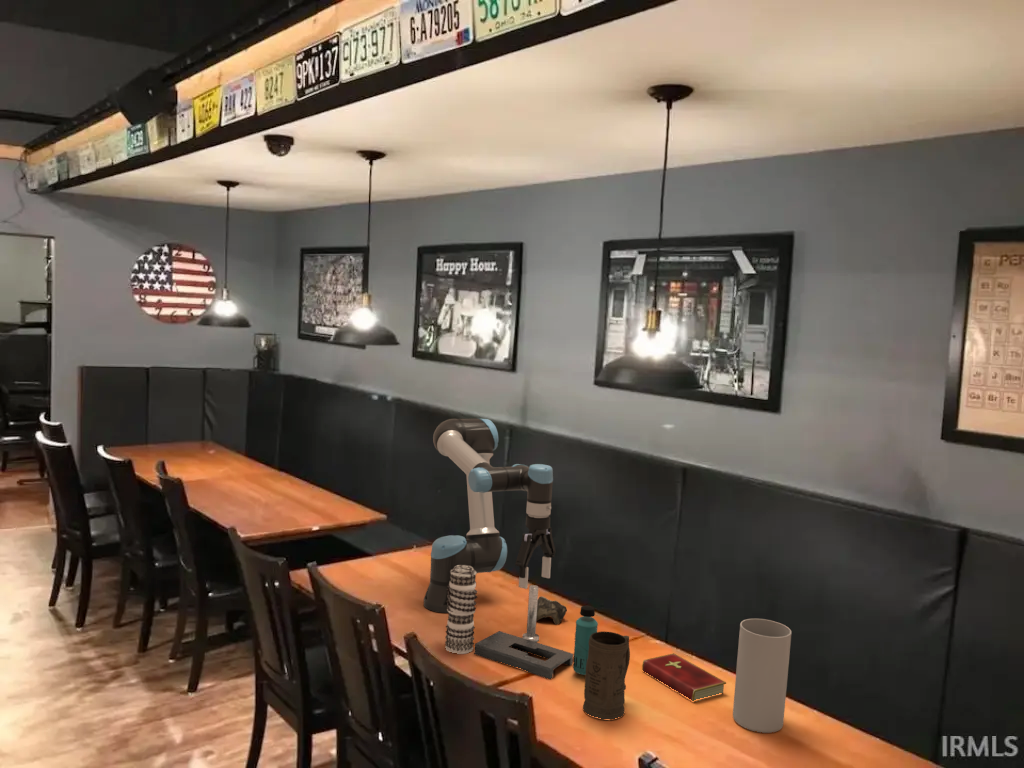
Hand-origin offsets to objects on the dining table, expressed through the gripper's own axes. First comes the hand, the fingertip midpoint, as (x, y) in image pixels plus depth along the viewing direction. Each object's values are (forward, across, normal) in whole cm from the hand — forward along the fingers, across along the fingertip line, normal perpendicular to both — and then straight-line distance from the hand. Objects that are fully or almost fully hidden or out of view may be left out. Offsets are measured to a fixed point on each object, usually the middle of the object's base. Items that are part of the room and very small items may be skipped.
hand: (534, 582), depth 254 cm
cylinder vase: (+19, -7, -72) cm, 75 cm away
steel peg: (+18, 0, 0) cm, 18 cm away
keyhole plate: (+18, -14, -6) cm, 24 cm away
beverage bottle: (+19, -12, -24) cm, 33 cm away
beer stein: (+19, -25, -38) cm, 50 cm away
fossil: (+19, +20, +5) cm, 27 cm away
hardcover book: (+20, +2, -49) cm, 52 cm away
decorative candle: (+19, -20, +14) cm, 30 cm away
